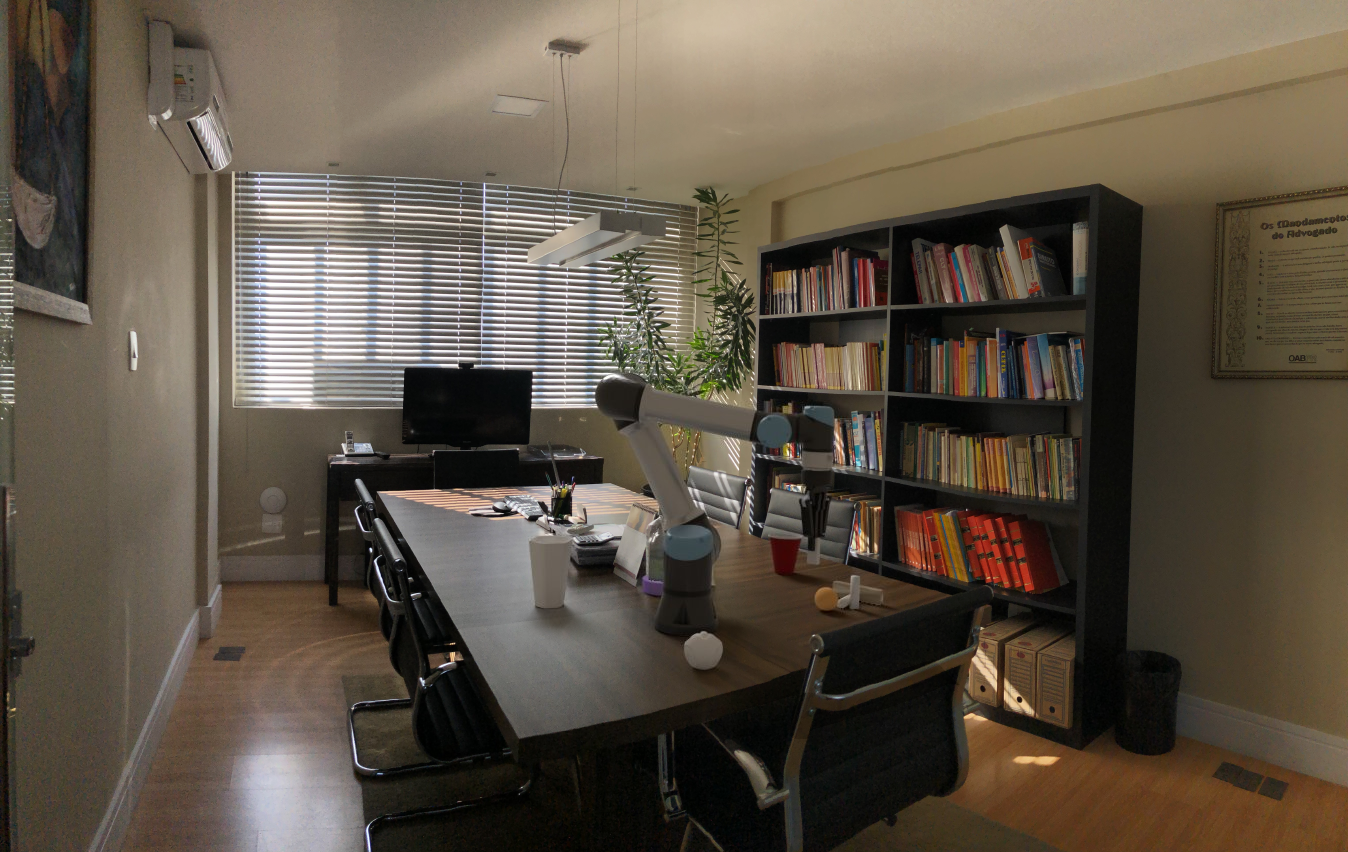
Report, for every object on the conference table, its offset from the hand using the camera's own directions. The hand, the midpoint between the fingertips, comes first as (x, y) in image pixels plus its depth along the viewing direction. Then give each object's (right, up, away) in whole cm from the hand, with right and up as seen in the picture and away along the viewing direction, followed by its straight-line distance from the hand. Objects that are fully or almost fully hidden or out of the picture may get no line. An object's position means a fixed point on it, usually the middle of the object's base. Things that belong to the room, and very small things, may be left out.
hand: (813, 563), depth 199 cm
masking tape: (-38, -12, +26) cm, 47 cm away
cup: (-67, -12, +8) cm, 68 cm away
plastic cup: (0, -12, +51) cm, 52 cm away
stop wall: (+16, -14, +21) cm, 30 cm away
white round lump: (-29, -16, -35) cm, 48 cm away
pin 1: (+9, -13, +12) cm, 20 cm away
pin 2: (+13, -14, +13) cm, 23 cm away
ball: (+5, -11, +10) cm, 16 cm away
